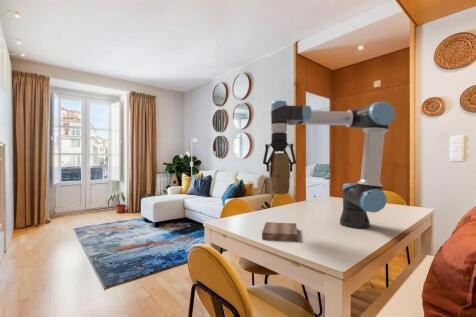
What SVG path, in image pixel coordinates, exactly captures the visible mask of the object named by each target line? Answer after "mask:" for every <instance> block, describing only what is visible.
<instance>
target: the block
mask: <svg viewBox="0 0 476 317" xmlns="http://www.w3.org/2000/svg"><path fill="white" fill-rule="evenodd" d="M289 158H290V157H289V153H288V152H287V153H284V152H279V153H278V152H275V153H274V154H273V157H272V160H271V162H270V165H271V178H270V180H271V182H270V183H271V191H272V192H271V193H274V194H276V195H287V194H289V190H290V182H291V181H290V179H291V172H290V173H289V165H290V163H289ZM289 176H290V178H289Z"/></svg>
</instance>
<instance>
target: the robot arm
mask: <svg viewBox="0 0 476 317" xmlns="http://www.w3.org/2000/svg"><path fill="white" fill-rule="evenodd" d="M270 105H271V106H270V108H271V109H270V110H271V111H270V119H271V120H270V121H271V128H270V129H271V130H270V131H271V136H270V137H271V138H270V139H271V142H270V143H268V144H265V145H264V146H265V147H264V148H265V150H264V155H263V161H262V164H263V165H266V172H268V179H271V160H272V157H273V154H274V153H278V152H280V153H288V152H287V150H286V149H287V147H288V148H289V149H290V154H291V157H292V160H291V158H290V157H289V173H290V174H291V172H293V166H294V165H295V164H297V160H296V155H295V151H294V144H293V143H289V142H288V133H286V132H287V131H288V130H287V129H288V126H293V125H313V126H315V125H316V126H345V128H353V129H361V130H362V131H363V132H364V140H363V141H364V142H363V151H362V160H361V172H360V180H358V181H357V182H355V183H354V182H353V183H351V182H350V183H344V184H343V185H342V212H341V214H340V218H339V224H340V225H342V226H344V227H347V228H354V229H366V228H367V229H368V228H369V227H370V226H371V224H370V223H371V222H370V219H369V216H368V213H377V212H380V211H382V210H383V209H384V208H385V206H386V205H387V200H388V199H387V195H386V194H385V192H384V190H383V189H384V188H383V187H384V185H383V184H382V183H381V173H382V172H381V171H382V162H383V153H384V152H383V151H384V143H385V135H386V133H387V132H389V128H390V124H392V123H393V122H394V120H395V118H396V112H395V109H394V107H393V106H392V104H390V103H389V102H386V101H379V102H374V103H371V104H369V105H367V106H364V107H361V108H356V109H347V111H339V110H338V111H337V110H335V111H334V110H333V111H332V110H312V107H311V105H305V104H303V105H302V104H301V105H290V104H287V101H285V100H275V101H272V102H271V104H270ZM287 125H288V126H287ZM271 148H272V152H271V153H270V156H269V158H268V153H269V149H271ZM267 158H268V160H267ZM289 178H290V179H291V175H290V176H289Z"/></svg>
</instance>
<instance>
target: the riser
mask: <svg viewBox="0 0 476 317" xmlns="http://www.w3.org/2000/svg"><path fill="white" fill-rule="evenodd" d="M297 227H298V226H297V223H294V222H275V221H274V222H270V221H266V222H265V224H264V226H263V229H262V231H261V240H270V241H271V240H274V241H291V242H298V229H297Z"/></svg>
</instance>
